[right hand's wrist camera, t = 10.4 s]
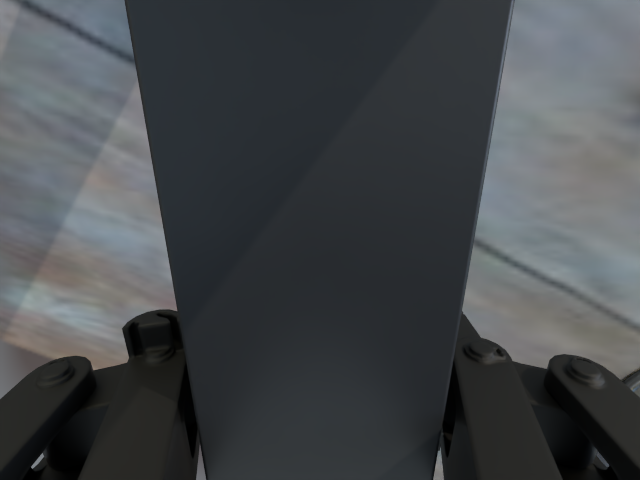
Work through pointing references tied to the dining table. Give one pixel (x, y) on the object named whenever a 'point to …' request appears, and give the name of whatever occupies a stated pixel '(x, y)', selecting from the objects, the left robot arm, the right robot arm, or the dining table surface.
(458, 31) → the long box
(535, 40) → the dining table surface
